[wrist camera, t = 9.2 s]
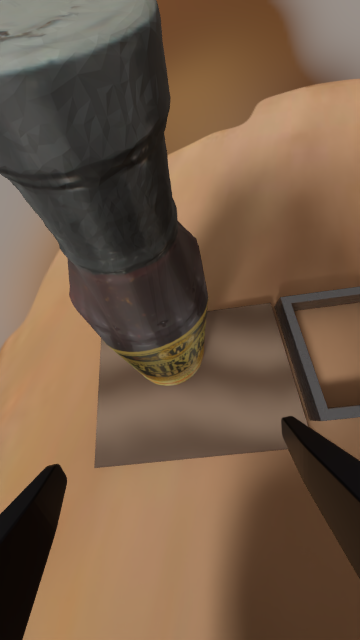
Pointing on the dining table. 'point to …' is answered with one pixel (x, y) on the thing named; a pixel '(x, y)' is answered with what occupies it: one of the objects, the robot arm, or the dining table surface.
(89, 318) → the sauce bottle
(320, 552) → the dining table surface
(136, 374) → the brown flat slab
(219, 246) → the dining table surface
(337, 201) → the dining table surface
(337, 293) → the grey square frame
